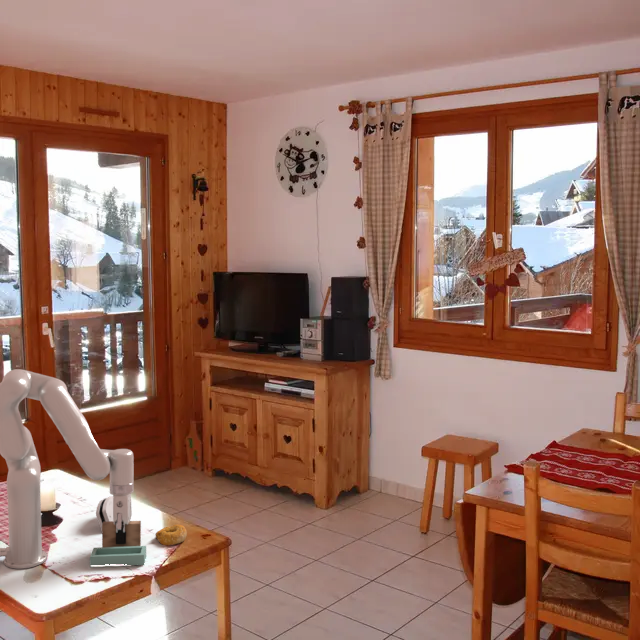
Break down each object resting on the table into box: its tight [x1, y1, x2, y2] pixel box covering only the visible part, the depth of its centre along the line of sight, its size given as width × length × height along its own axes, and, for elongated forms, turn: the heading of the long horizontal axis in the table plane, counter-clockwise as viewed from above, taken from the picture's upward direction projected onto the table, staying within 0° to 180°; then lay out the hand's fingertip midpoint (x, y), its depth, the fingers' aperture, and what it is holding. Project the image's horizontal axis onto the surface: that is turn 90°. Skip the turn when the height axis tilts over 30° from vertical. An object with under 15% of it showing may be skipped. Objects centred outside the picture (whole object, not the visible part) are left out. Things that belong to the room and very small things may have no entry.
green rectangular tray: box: [89, 545, 147, 566], centre depth 236 cm, size 16×7×4 cm, turn 98°
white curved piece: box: [95, 495, 113, 531], centre depth 267 cm, size 17×5×10 cm, turn 3°
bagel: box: [154, 524, 188, 546], centre depth 254 cm, size 10×11×5 cm
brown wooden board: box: [101, 520, 142, 547], centre depth 245 cm, size 12×2×9 cm, turn 98°
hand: (121, 541), depth 245 cm, fingers closed on brown wooden board, 2 cm apart
